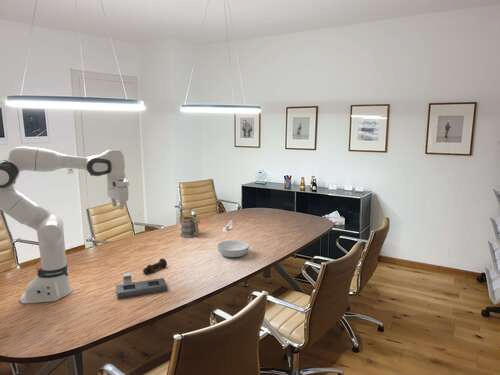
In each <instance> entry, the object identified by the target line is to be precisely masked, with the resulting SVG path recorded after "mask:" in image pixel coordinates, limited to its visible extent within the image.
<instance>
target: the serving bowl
mask: <svg viewBox="0 0 500 375" xmlns="http://www.w3.org/2000/svg"><path fill="white" fill-rule="evenodd" d="M216 247H217V248H216V249H217V250H218V253H220V255H222V256H224V257H226V258H238V257H241V256H245V254H247V253H248V252H249V248H250V244H249V243H247V242H245V241H243V240H237V239H236V240H235V239H233V240H232V239H231V240H225V241H220V242H219V243H217V245H216Z"/></svg>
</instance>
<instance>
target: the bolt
mask: <svg viewBox="0 0 500 375" xmlns="http://www.w3.org/2000/svg"><path fill="white" fill-rule="evenodd" d="M167 266H168V263H167V260H166V259H165V258H159V261H158V262H156V263H154V264H147V266H146V267H144V268H143V269H142V271H143V272H142V273H143V274H145V275H146V274H152V273H154V271H155V270H157V269H160V268H163V269H164V268H166V267H167Z"/></svg>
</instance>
